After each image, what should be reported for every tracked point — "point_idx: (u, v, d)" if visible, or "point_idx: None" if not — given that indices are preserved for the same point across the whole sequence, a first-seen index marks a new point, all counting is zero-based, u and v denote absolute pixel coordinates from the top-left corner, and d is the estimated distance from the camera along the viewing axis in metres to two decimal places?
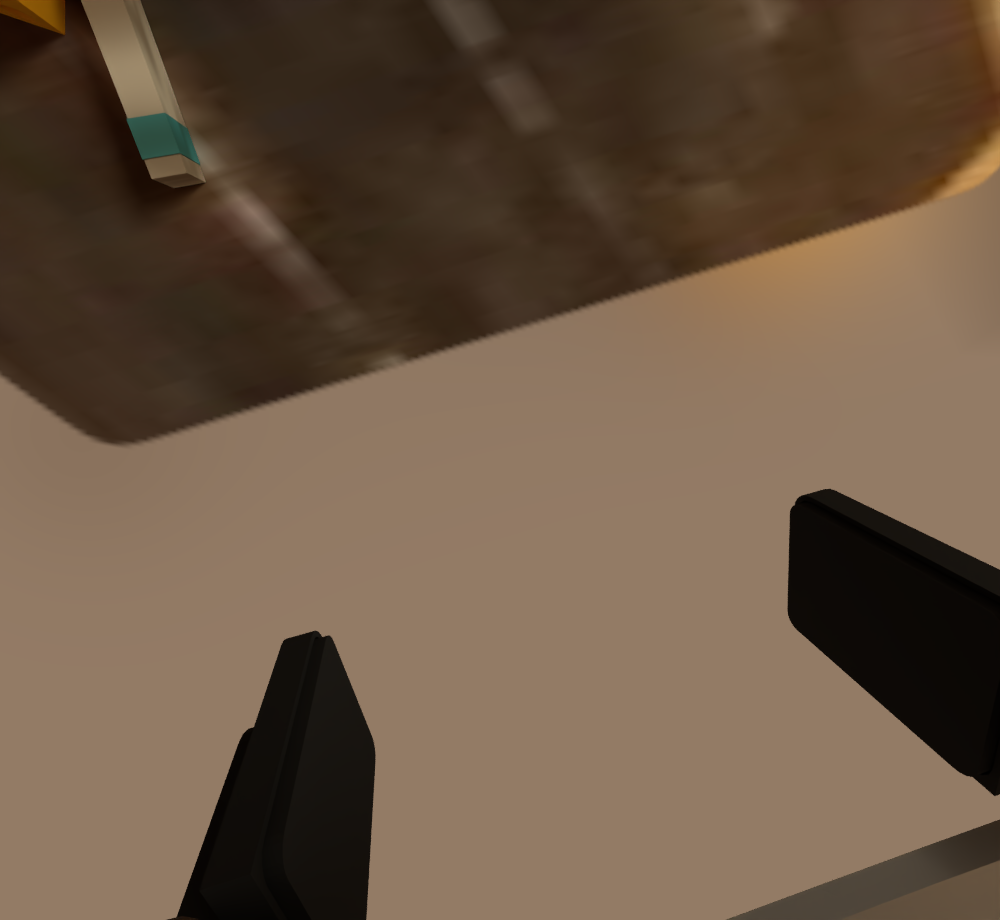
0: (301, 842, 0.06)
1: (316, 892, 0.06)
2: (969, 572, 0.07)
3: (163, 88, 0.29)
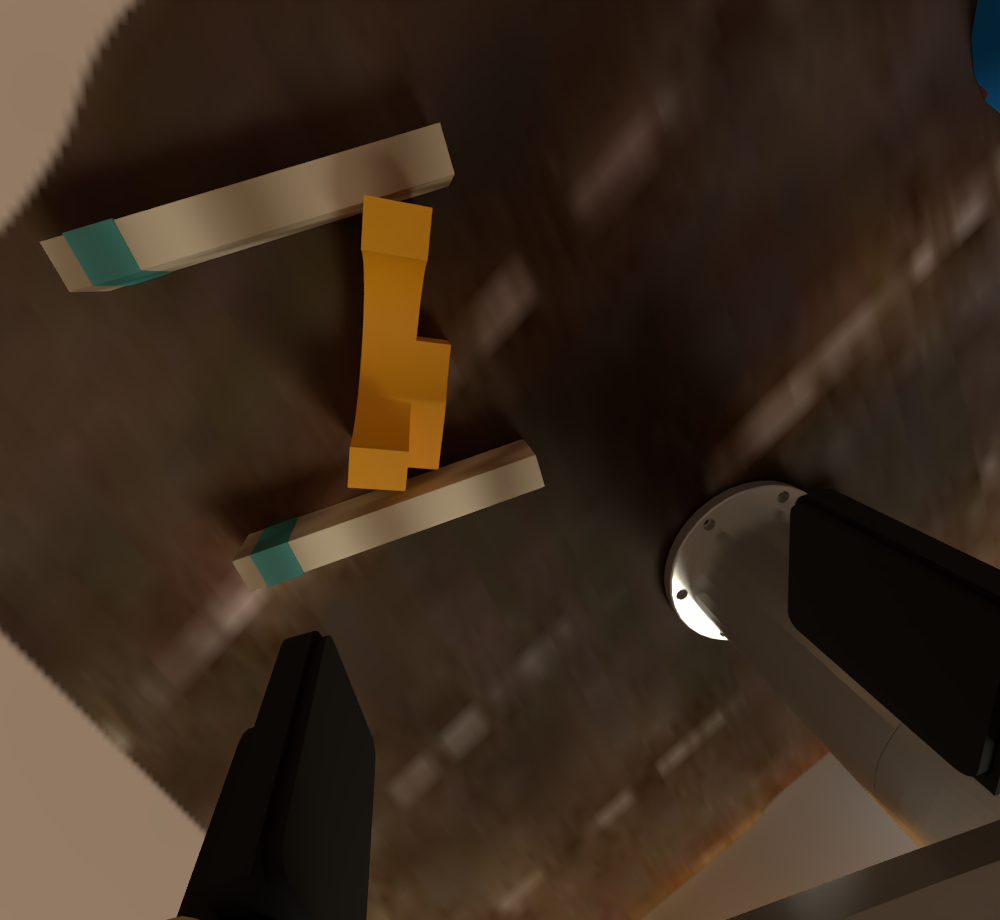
0: (301, 842, 0.06)
1: (316, 892, 0.06)
2: (969, 572, 0.07)
3: None
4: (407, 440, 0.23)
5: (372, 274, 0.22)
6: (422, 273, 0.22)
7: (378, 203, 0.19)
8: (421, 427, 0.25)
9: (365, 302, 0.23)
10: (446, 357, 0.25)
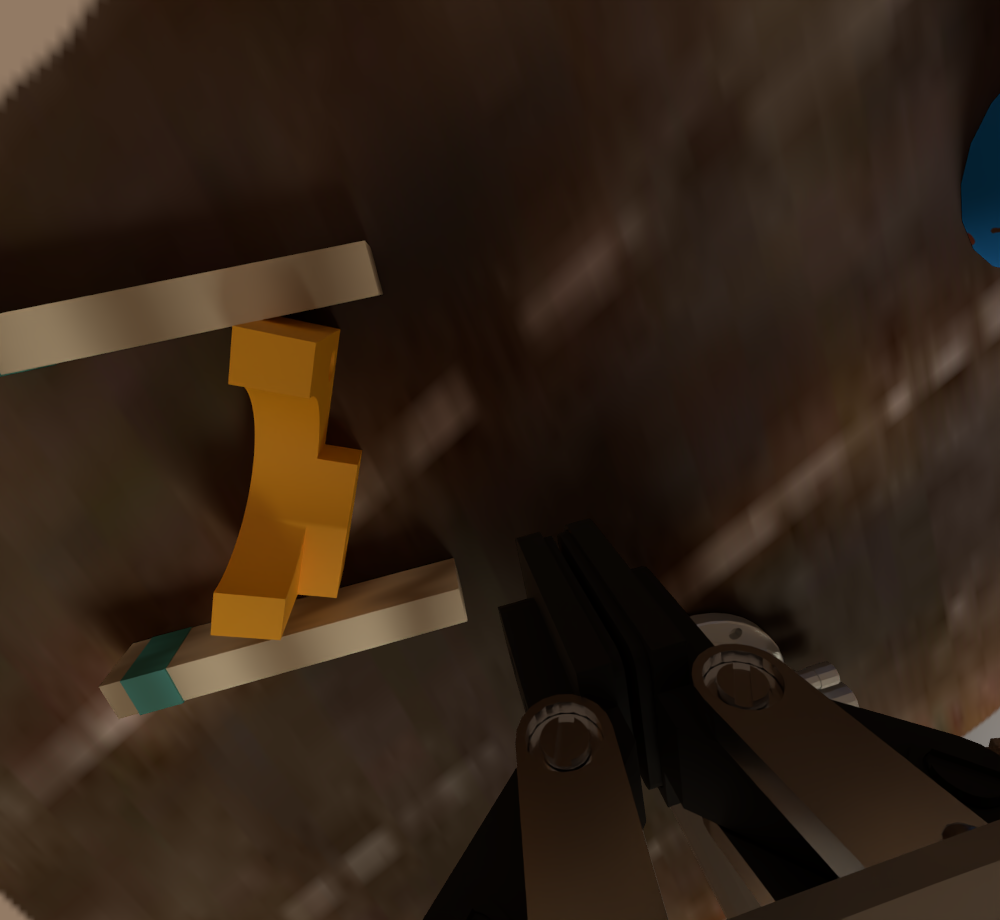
0: None
1: None
2: (633, 605, 0.07)
3: None
4: (290, 579, 0.20)
5: (258, 395, 0.19)
6: (314, 400, 0.19)
7: (250, 335, 0.16)
8: (317, 553, 0.22)
9: (255, 419, 0.20)
10: (352, 477, 0.22)
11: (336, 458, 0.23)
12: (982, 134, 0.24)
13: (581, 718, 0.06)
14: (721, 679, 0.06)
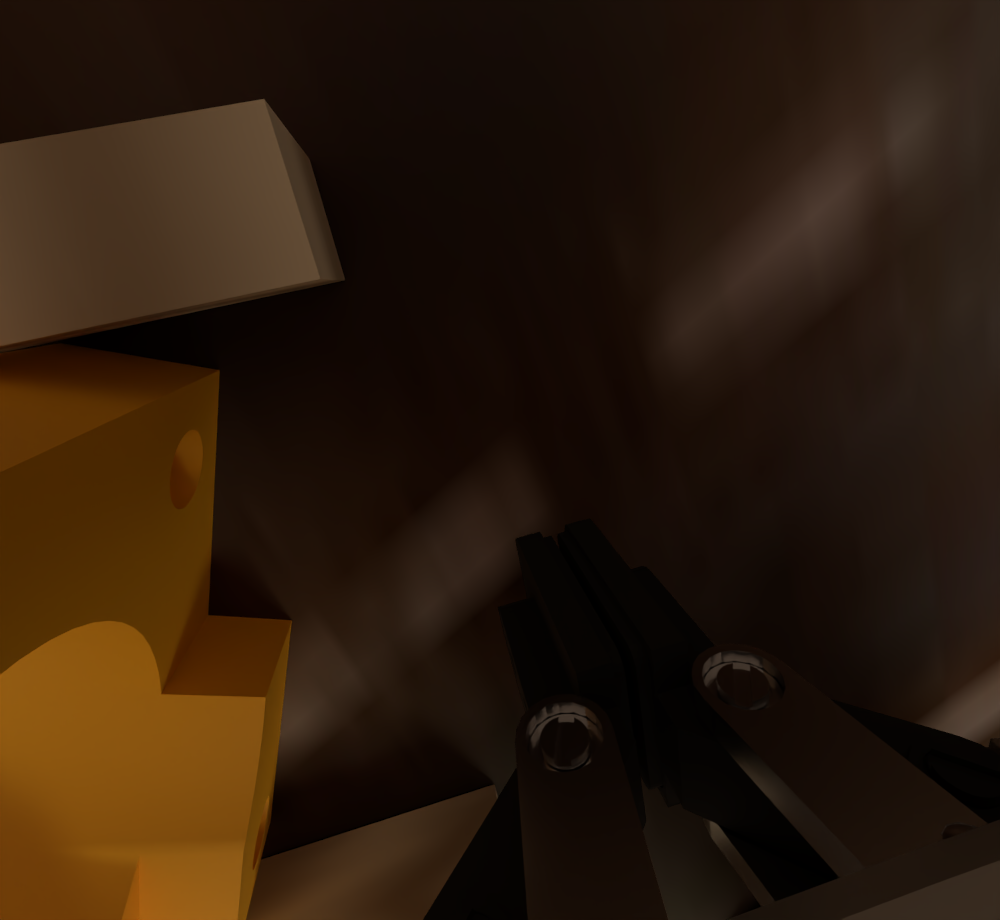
0: None
1: None
2: (633, 605, 0.07)
3: None
4: None
5: None
6: (73, 626, 0.06)
7: None
8: (177, 901, 0.10)
9: None
10: (254, 722, 0.09)
11: (217, 677, 0.10)
12: None
13: (581, 718, 0.06)
14: (721, 679, 0.06)
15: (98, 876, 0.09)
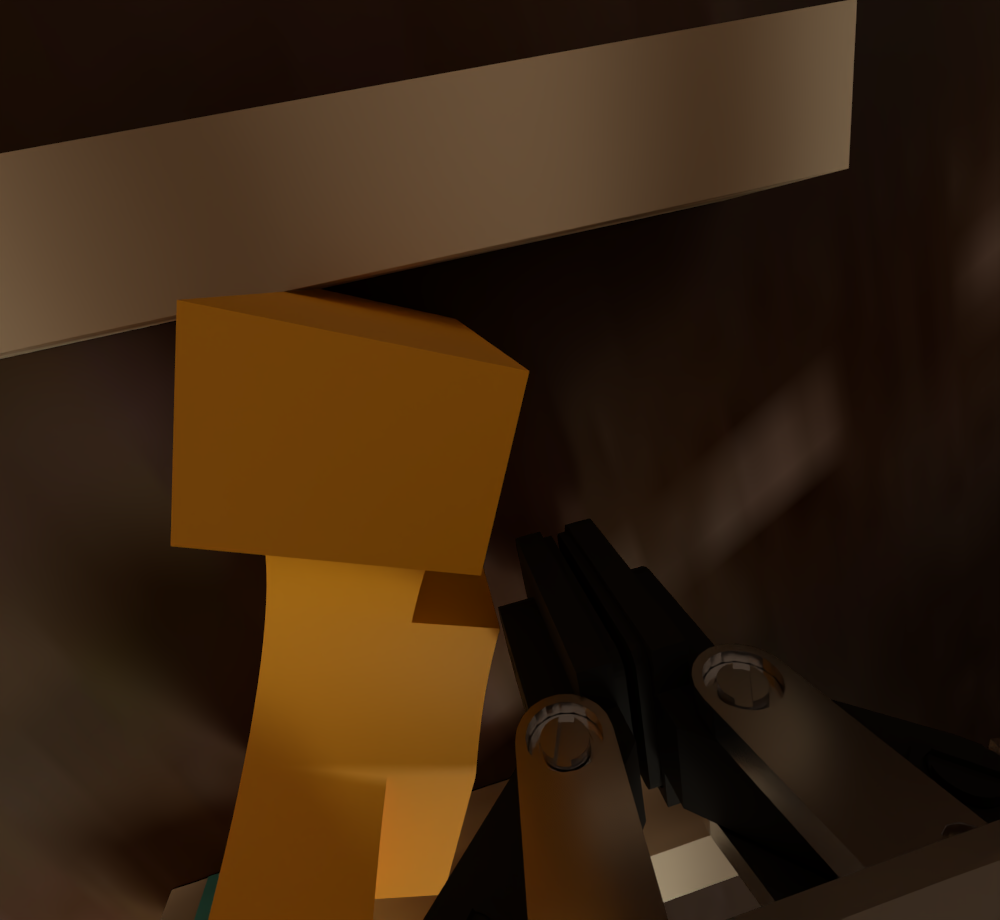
0: None
1: None
2: (633, 605, 0.07)
3: None
4: None
5: None
6: None
7: (260, 345, 0.04)
8: (410, 824, 0.10)
9: None
10: (485, 653, 0.10)
11: (449, 610, 0.10)
12: None
13: (581, 718, 0.06)
14: (721, 679, 0.06)
15: (355, 793, 0.09)
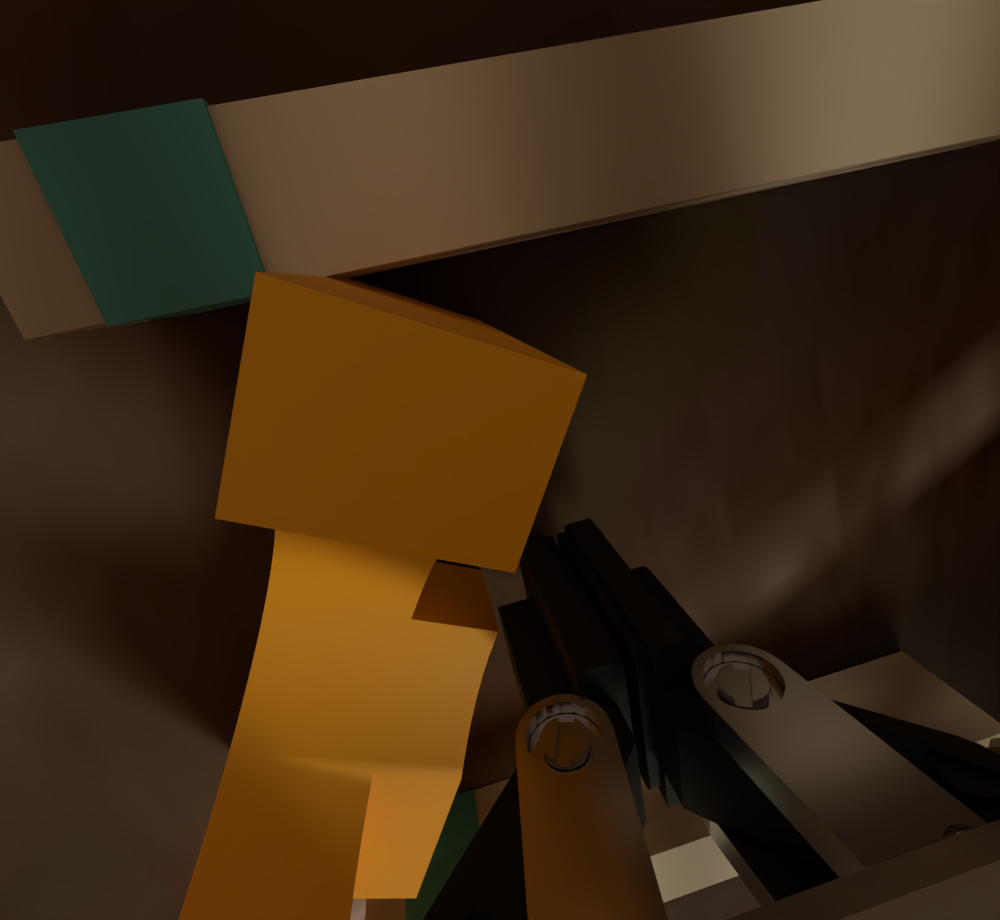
0: None
1: None
2: (633, 605, 0.07)
3: None
4: None
5: None
6: None
7: (331, 324, 0.04)
8: (390, 823, 0.10)
9: (279, 537, 0.08)
10: (480, 655, 0.10)
11: (448, 610, 0.10)
12: None
13: (581, 718, 0.06)
14: (721, 679, 0.06)
15: (339, 789, 0.09)
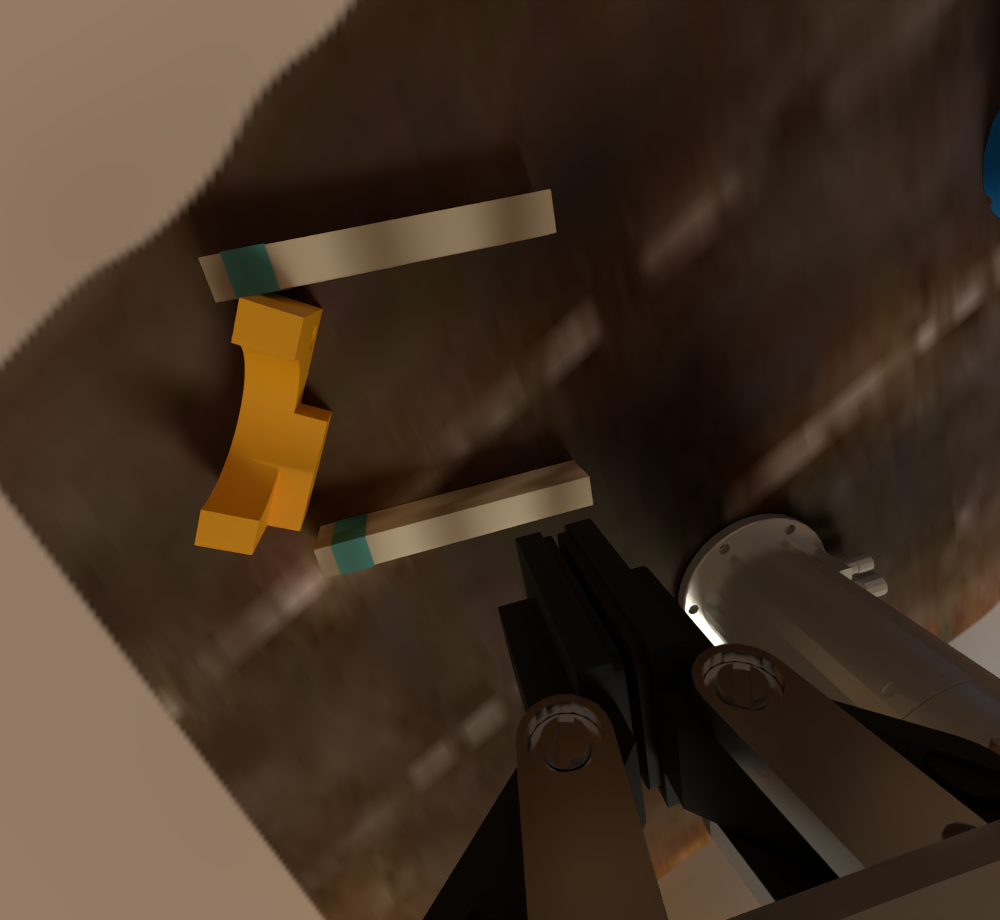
0: None
1: None
2: (633, 605, 0.07)
3: None
4: (263, 507, 0.25)
5: (251, 355, 0.24)
6: (297, 363, 0.24)
7: (252, 306, 0.21)
8: (287, 491, 0.27)
9: (246, 374, 0.25)
10: (321, 431, 0.27)
11: (309, 415, 0.27)
12: None
13: (581, 718, 0.06)
14: (721, 679, 0.06)
15: (267, 470, 0.26)
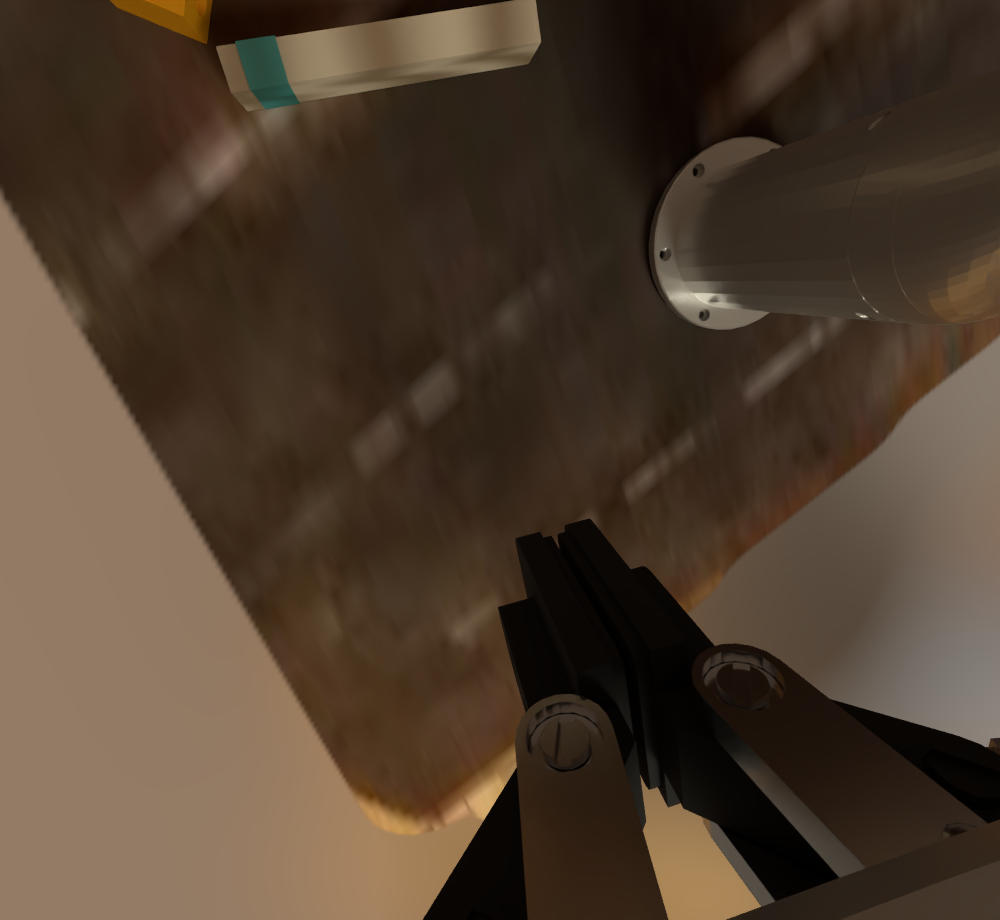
0: None
1: None
2: (633, 605, 0.07)
3: (322, 87, 0.28)
4: None
5: None
6: None
7: None
8: None
9: None
10: None
11: None
12: None
13: (581, 718, 0.06)
14: (721, 679, 0.06)
15: None
